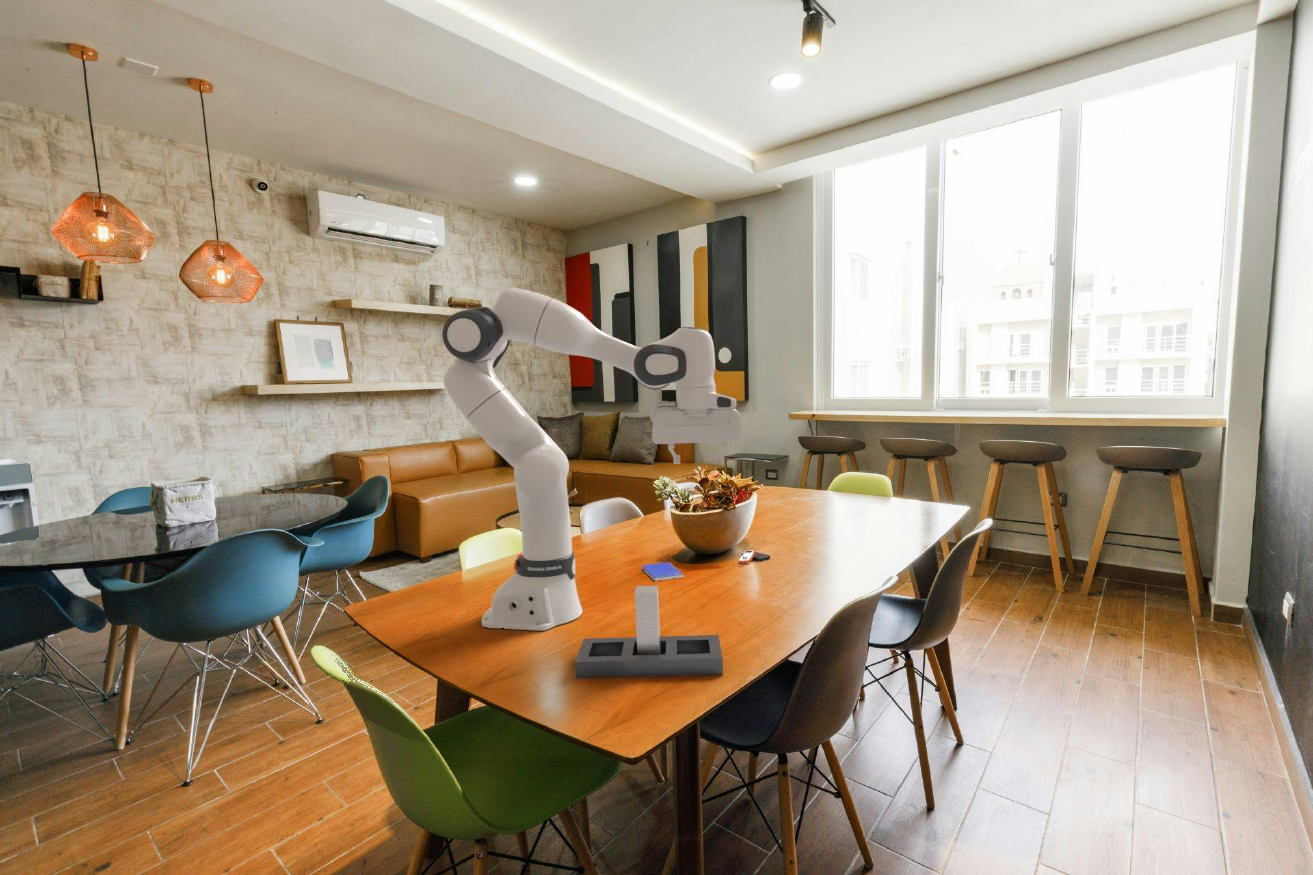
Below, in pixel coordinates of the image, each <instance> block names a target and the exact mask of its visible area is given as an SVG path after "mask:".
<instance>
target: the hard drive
mask: <svg viewBox="0 0 1313 875" xmlns="http://www.w3.org/2000/svg"><path fill="white" fill-rule="evenodd" d="M642 568H643V569H644V570H645V571H644V570H643V569H642ZM641 569H642V570H643V571H644V573H646V572H647V573H646V574H647V575H648V574H649V575H648V576H649V577H650V576H651V577H650V578H651V579H652V578H653V579H652V580H653V581H654V580H655V581H654V582H658V581H657V580H661V581H664V580H665V581H666V580H674V579H673V578H675V579H680V578H684V577H685V576H684V575H685V574H684V573H682V572H681V571H680V570H679V569H677V568H676V567H675V566H674V565H672V563H670V562H669V561H668V562H667V561H666V562H659V563H651V564H650V563H649V564H644V565H642V566H641Z"/></svg>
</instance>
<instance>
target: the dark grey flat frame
mask: <svg viewBox="0 0 1313 875" xmlns="http://www.w3.org/2000/svg"><path fill="white" fill-rule="evenodd" d="M582 640H583V641H582V642H581V646H580V647H579V648H580V649H579V651H578V653H577V656H576V659H575V661H574V668H575V679H604V678H606V679H607V678H608V679H609V678H611V679H612V678H613V679H614V678H641V677H643V678H644V677H645V678H646V677H647V678H649V677H681V676H683V677H686V676H687V677H688V676H689V677H690V676H720V675H721V676H722V675H723V676H724V666H723V665H724V661H723V654H722V649H721V648H722V647H721V641H720V636H719V634H708V635H707V634H701V635H698V634H697V635H667V636H666V635H665V636H664V635H660V648H661V655H638V652H637V636H636V637H635V636H634V637H633V636H630V637H628V636H626V637H599V638H598V637H596V638H595V637H592V638H583V639H582Z"/></svg>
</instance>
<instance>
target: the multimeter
mask: <svg viewBox="0 0 1313 875" xmlns="http://www.w3.org/2000/svg"><path fill="white" fill-rule="evenodd" d="M766 559H769V560H771V555H770V554H767V553H761V552H758V551H754V549H747V550H745V551H744V552H743V553H741V557H740V558H739V559H738V563H737V564H736V565H737V568H738V567H739V568H741V567H744V566H745V565H749V563H750V564H751V562H752V561H753V560H755V561H754V562H757V561H762V562H765V561H764V560H766ZM766 561H767V560H766ZM740 563H742V565H741V566H739V564H740ZM715 567H716V568H717V567H721V566H720V565H718V564H716V565H715Z"/></svg>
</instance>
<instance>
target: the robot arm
mask: <svg viewBox="0 0 1313 875" xmlns="http://www.w3.org/2000/svg"><path fill="white" fill-rule="evenodd" d="M494 303H495V304H494V306H493V308H490V307H488V306H482V307H477V308H467V309H464V310H460V311H457V312H456V313H453V314H451V315H450V316H449V317H448V318H447V319H446V321H445V322H444V325H443V326H442V327H443V328H442V333H441V334H442V335H441V337H442V341H443V344H444V346H445V349H447V351H448V352H449V353H450V354H451V355H452V356H454V358H456V359H455V361H454V363H452V365H451V366H450V367H449V368H448V369H447V370H446V372H445V373H444V377H443V386H444V388H445V390H446V392H447V394H448V395H449V397H450V398H451V400H452V402H453V403H454V404H455V406H456V408H457V409H458V411H460V413H461V414H462V416H463V417H464V418H465V419H466V420H467V421H468V423H469V424H470V425H471V426H472V427H473V429H474V430H475V431H476V432H477V433H478V435H480V437H481V438H482V439H483V440H484V442H485V443H486V444H487V445H488V446H489V447H490V448H491V449H492V450H493V451H495V452H497V454H499V455H500V456H501V457H502V458H503V459H504V460H505V461H506V462H507V463H508V464H510V466H511V467H512V468H513V469H514V470H513V471H514V472H513V477H514V485H515V494H516V500H517V501H516V502H517V505H518V506H517V507H518V508H517V509H518V512H519V517H520V518H519V519H520V524H521V525H520V527H521V540H522V542H521V543H522V552H520V553H519V554H518V555H517V557H516V559H515V560H514V563H513V569H514V570H515V573H513V574H512V575H511V576H510V577H509V578H508V579H507V580H506V581H504V582H503V583H502V584H501V585H500V586H499V587H498V588H497V589H496V590H495V592H494V594H493V596H492V599H491V607H490V608H488V609H487V610H486V611H485V612H484V614H483V615H482V617H481V626H482V627H483V626H484V627H483V628H485V627H487V628H488V629H501V628H504V629H506V630H523V631H524V630H525V631H546V630H549V629H552V628H554V627H556V626H560V625H563V624H566V623H569V622H571V621H574V620H575V619H577V618H579V617H580V616H581V615H582V614H583V608H582V605H581V602H580V598H579V595H578V591H577V585H576V584H577V583H576V579H575V578H576V577H575V576H576V567H577V566H576V558H575V552H574V550H573V545H572V544H573V542H572V524H571V513H570V507H569V494H568V485H567V483H568V482H567V477H568V474H569V471H570V462H569V459H568V457H567V455H566V454H565V452H564V451H563V450H562V449H561V448H560V447H559V445H557V443H556V442H555V441H554V440H553V439H552V438H551V437H550V436H549V435H548V433H547V432H546V431H545V430H544V429H543V428H542V427H541V426H540V425H539V424H538V423H537V422H536V421H535V420H534V419H533V418H532V417H531V416H530V415H529V414H528V413H527V411H526V410H525V409H524V408H523V406H522V405H521V404H520V403H519V402H518V401H517V399H516V398H515V397H514V396H513V394H512V393H511V392H510V391H509V390H508V389H507V387H506V386H505V385H504V384H503V383H502V381H501V380H500V379H499V378H498V376H497V375H496V373H495V371H494V368H496V367H497V366H498V364H499V362H501V359H502V357H504V354H505V353H506V352H507V351H508V349H509V346H510V341H511V340H518V341H519V340H520V341H523V342H526V343H528V344H531V345H533V346H536V347H538V348H541V349H544V350H547V351H549V352H553V353H558V354H564V355H569V356H579V357H585V358H591V359H594V360H597V361H600V362H603V363H605V364H608V365H610V366H612V367H615V368H617V369H620V370H623V371H625V372H627V373H628V374H630V375H631V376H632V377H633V378H634V379H635V380H636V381H637V383H639V384H641V386H642V387H644V388H646V389H648V390H653V391H657V390H663V389H665V388H667V387H668V386H670V385H671V384H674V385H675V397H676V398H675V399H676V400H675V401H668V402H662V401H661V402H656V404H653V405H652V406H651V407H650V409H649V417H650V418H649V419H650V421H651V423H652V432H651V440H652V442H653V443H654V444H655V445H668V451H669V452H670V454H671V455H672V457H673V464H674V465H680V464H681V455H680V454H679V455H677V454H676V452H675V450H674V449H675V444H699V443H700V444H703V443H704V444H707V443H719V444H720V446H719V447H721V449H720V451H719V453H716V454H715V463H716V464H718V463H722V464H723V463H724V462H723V459H724V458H723V455H724V454H725V452H726V450H727V448H728V443H732V442H733V443H735V442H737V443H738V442H739V443H740V442H741V441H742V440H743V438H744V430H743V421H742V418H741V414H740V412H739V411H738V410H737V409H735V408H736V407H737V400H736V398H734V397H732V396H731V397H730V396H728V395H725V394H722V393H721V394H720V393H717V386H716V382H715V378H714V377H715V376H714V375H715V370H716V355H715V354H716V353H715V345H714V340H713V338H712V335H711V334H710V333H709V332H708V331H707V330H705V329H702V328H698V327H692V326H681V327H679V328H677V330H675V331H674V332H673V333H672V334H670V335H667V336H666V337H664V338H661V339H659V340H658V341H655V342H652V343H649V344H645V346H643V347H642V346H641V347H640V346H636V345H634V344H631V343H628V342H626V341H624V340H621V339H619V338H617V337H614V336H611V335H609V334H607V333H606V332H604V331H602V330H601V329H599V328H597V327H596V326H595V325H594V324H593V323H592V322H591V321H590V320H589V319H588V318H587V317H586V316H585V315H584V314H583V313H581V312H580V311H578V310H577V309H576V308H574V307H572V306H570V305H568V304H566V303H565V302H563V301H561V300H559V299H556V298H554V297H551V296H548V295H546V294H542V293H540V292H536V291H532V290H529V289H522V288H518V287H509V288H507V289H505V290H503V291H502V292H501V293H500V294H499V296H497V298H496V301H495V302H494Z"/></svg>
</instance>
